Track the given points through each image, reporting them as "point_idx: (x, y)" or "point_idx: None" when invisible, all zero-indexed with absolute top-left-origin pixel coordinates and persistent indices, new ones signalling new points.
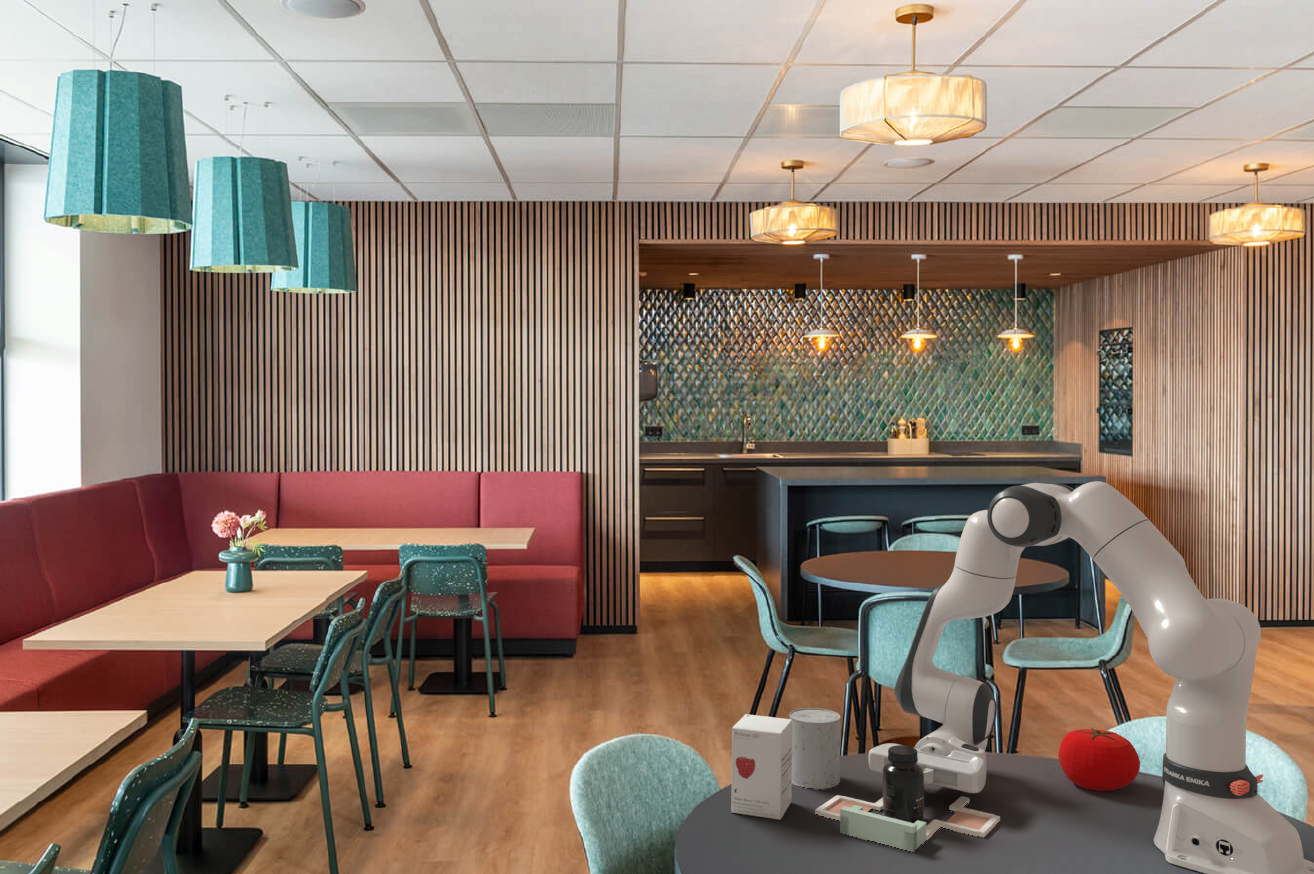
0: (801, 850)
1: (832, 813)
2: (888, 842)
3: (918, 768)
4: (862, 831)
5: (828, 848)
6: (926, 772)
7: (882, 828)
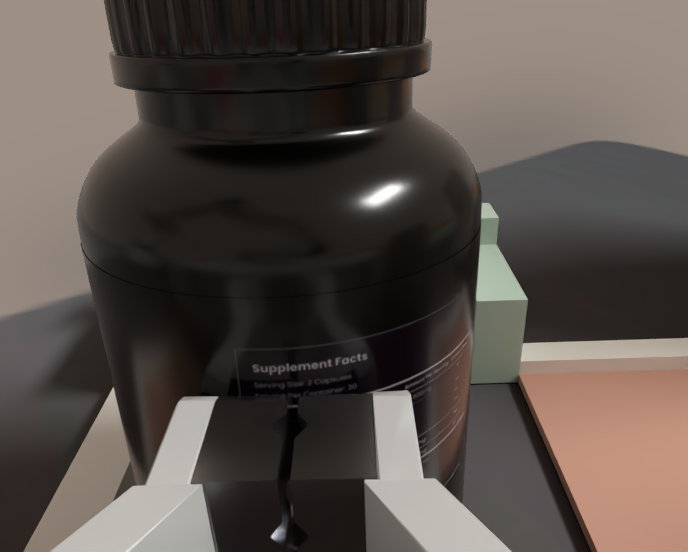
0: None
1: (636, 347)
2: None
3: (118, 139)
4: None
5: None
6: (60, 548)
7: None
